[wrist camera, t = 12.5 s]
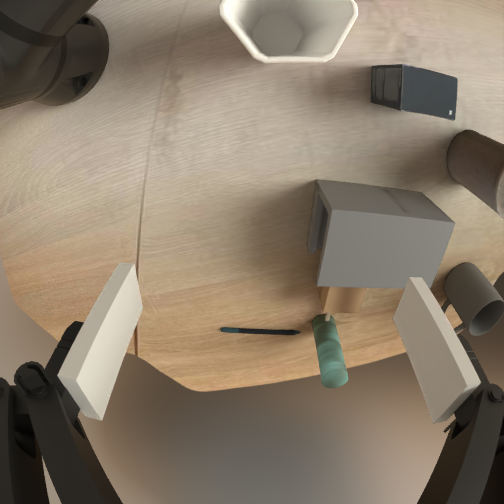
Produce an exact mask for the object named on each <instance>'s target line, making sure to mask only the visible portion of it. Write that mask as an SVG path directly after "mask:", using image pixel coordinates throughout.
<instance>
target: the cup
mask: <svg viewBox="0 0 504 504" xmlns="http://www.w3.org/2000/svg"><path fill="white" fill-rule="evenodd" d="M219 16H220V17H221V18H222V19H223V20H224V22H225V23H226V24H227V25H228V26H229V28H230V29H231V30H232V31H233V33H234V34H235V35H236V36H237V38H238V39H239V40H240V41H241V43H242V44H243V45H244V46H245V48H246V49H247V50H248V52H249V53H250V54H251V55H252V57H253V58H254V59H256V60H258V61H261V62H263V63H283V62H323V63H324V62H326V61H328V60H330V59H332V58H334V56H335V54H336V53H337V51H338V49H339V47H340V46H341V44H342V42H343V40H344V39H345V37H346V35H347V33H348V32H349V30H350V28H351V26H352V25H353V23H354V21H355V20H356V18H357V16H358V8H357V4H356V3H355V1H354V0H222V1H221V2H220V4H219Z"/></svg>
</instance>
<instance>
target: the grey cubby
mask: <svg viewBox="0 0 504 504" xmlns="http://www.w3.org/2000/svg"><path fill="white" fill-rule="evenodd" d="M454 225H455V222H454V221H453V220H452V219H451V218H449V217H448V216H447V215H446V214H445V213H444V212H443V211H442V210H441V209H440V208H439V207H437V206H436V205H435V204H434V203H433V202H432V201H431V200H430V199H428V198H427V197H426V196H425V195H424V194H423V193H420V192H414V191H407V190H401V189H394V188H386V187H379V186H371V185H363V184H355V183H346V182H337V181H327V180H317V179H316V186H315V194H314V201H313V207H312V214H311V221H310V227H309V234H308V240H307V248H308V252H309V253H315V252H316V249H322V253H321V258H320V263H319V268H318V273H317V277H316V284H317V286H324V287H357V288H406V285H407V283H408V280H409V277H422V278H423V280H424V281H425V283H426V285H427V286H428V288H429V289H430V288H431V286H432V283H433V281H434V278H435V276H436V274H437V271H438V269H439V266H440V264H441V261H442V259H443V256H444V253H445V251H446V248H447V245H448V242H449V240H450V237H451V234H452V231H453V228H454Z"/></svg>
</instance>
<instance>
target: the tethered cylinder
mask: <svg viewBox="0 0 504 504" xmlns="http://www.w3.org/2000/svg"><path fill="white" fill-rule="evenodd" d="M366 289H367V288H357V287H324V286H318V293H319V297H320V301H321V306H322V310H323V313H326V314H323V315H319V316H317V317H316V318H315V319H314V320H313V322H312V326H313V332H314V337H315V343H316V349H317V355H318V361H319V367H320V373H321V379H322V384H323V386H325V387H327V388H336V387H339V386H342V385H343V384H345V383H346V382H347V381H348V374H347V370H346V366H345V361H344V357H343V353H342V349H341V345H340V341H339V337H338V333H337V329H336V325H335V321H334V318H333V317H332V316H331V313H358V312H359V309H360V307H361V304H362V301H363V298H364V295H365V292H366Z"/></svg>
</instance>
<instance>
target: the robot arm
mask: <svg viewBox="0 0 504 504" xmlns="http://www.w3.org/2000/svg"><path fill="white" fill-rule="evenodd" d="M97 1H98V0H0V110H1V109H4V108H7V107H10V106H13V105H17V104H20V103H23V102H27V101H30V100H33V101H37V102H40V103H43V104H47V105H62V104H66V103H70V102H73V101H76V100H78V99H80V98H81V97H83V96H84V95H85V94H87V93H88V92H89V91H90V90H91V89H92V88H93V87H94V85H95V84H96V83H97V81H98V80H99V78H100V77H101V75H102V73H103V71H104V68H105V65H106V62H107V58H108V52H109V41H108V35H107V32H106V30H105V27H104V26H103V24H102V23H101V22H100V21H99V19H97V18H96V17H95V16H93V15H91V14H88V13H86V12H87V11H88V10H89V9H90V8H91V7H92V6H93V5H94V4H95V3H96V2H97ZM142 309H143V306H142V301H141V297H140V292H139V287H138V282H137V277H136V271H135V266H134V263H122V262H119V264H118V265H117V267H116V268H115V270H114V272H113V273H112V275H111V277H110V278H109V280H108V282H107V283H106V285H105V287H104V288H103V290H102V292H101V294H100V295H99V297H98V299H97V301H96V302H95V304H94V306H93V308H92V309H91V311H90V313H89V315H88V317H87V318H86V320H85V322H78V321H75V322H73V323H72V324H71V325H70V326H69V327H68V328H67V329H66V330H65V332H64V334H63V336H62V338H61V340H60V341H59V343H58V345H57V348H56V349H55V350H54V352H53V354H52V356H51V358H50V360H49V362H48V364H47V366H46V368H45V370H44V368H43V366H42V365H41V364H39V363H38V362H33V361H31V362H27V363H25V364H23V365H21V366H20V367H19V368H18V370H17V371H16V373H15V375H14V382H15V384H16V385H17V386H10V385H9V384H8V382H7V381H6V380H5V379H3V378H0V504H50V503H49V498H48V494H47V488H46V482H45V476H44V469H43V462H42V457H43V460H44V462H45V465H46V467H47V470H48V472H49V475H50V478H51V480H52V483H53V485H54V487H55V490H56V492H57V494H58V496H59V498H60V501H61V503H62V504H123V503H122V502H121V500H120V498H119V497H118V495H117V493H116V491H115V490H114V488H113V486H112V485H111V483H110V481H109V479H108V478H107V476H106V474H105V472H104V470H103V468H102V466H101V464H100V462H99V460H98V459H97V456H96V454H95V453H94V450H93V449H92V447H91V444H90V442H89V440H88V438H87V436H86V433H85V431H84V429H83V426H82V424H81V422H80V420H79V418H78V417H77V416H78V413H79V411H80V410H81V411H82V412H83V414H84V415H85V416H87V417H90V418H94V419H98V420H102V419H103V416H104V413H105V410H106V407H107V404H108V401H109V398H110V395H111V392H112V389H113V386H114V383H115V380H116V377H117V375H118V372H119V369H120V366H121V364H122V361H123V358H124V356H125V353H126V350H127V348H128V345H129V342H130V340H131V337H132V334H133V332H134V329H135V327H136V324H137V322H138V319H139V317H140V314H141V312H142ZM393 320H394V323H395V325H396V327H397V330H398V332H399V334H400V337H401V339H402V341H403V344H404V346H405V349H406V351H407V353H408V356H409V359H410V361H411V364H412V366H413V369H414V371H415V374H416V377H417V379H418V382H419V384H420V387H421V390H422V393H423V395H424V398H425V401H426V404H427V407H428V410H429V413H430V415H431V419H432V422H433V424H434V423H438V422H442V421H446V420H448V419H449V418H450V416H452V414H453V413H454V414H455V417H456V419H455V420H454V421H453V422H452V423H451V424H450V425H449V426H448V427H447V428H446V429H445V430H444V432H447V431H448V430H449V429H450V431H449V433H448V437H447V439H446V442H445V444H444V447H443V449H442V452H441V454H440V457H439V459H438V461H437V464H436V466H435V468H434V471H433V473H432V475H431V477H430V479H429V481H428V483H427V485H426V487H425V489H424V491H423V493H422V495H421V497H420V499H419V501H418V503H417V504H504V392H503V390H502V389H501V388H500V387H499V386H498V385H495V384H490V383H489V381H488V380H487V377H486V375H485V373H484V371H483V369H482V367H481V365H480V363H479V361H478V359H476V356H475V354H474V352H472V348H471V346H470V345H469V343H468V341H467V340H466V339H465V338H464V337H463V336H462V335H461V334H456V333H455V331H454V329H453V328H452V326H451V324H450V322H449V321H448V319H447V317H446V316H445V314H444V312H443V311H442V309H441V307H440V306H439V304H438V302H437V301H436V299H435V297H434V296H433V294H432V292H431V291H430V289H429V288H428V286H427V285H426V283H425V281H424V280H423V278H422V277H409V280H408V283H407V285H406V288H405V290H404V293H403V295H402V298H401V300H400V302H399V305H398V307H397V309H396V312H395V314H394V316H393Z"/></svg>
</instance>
